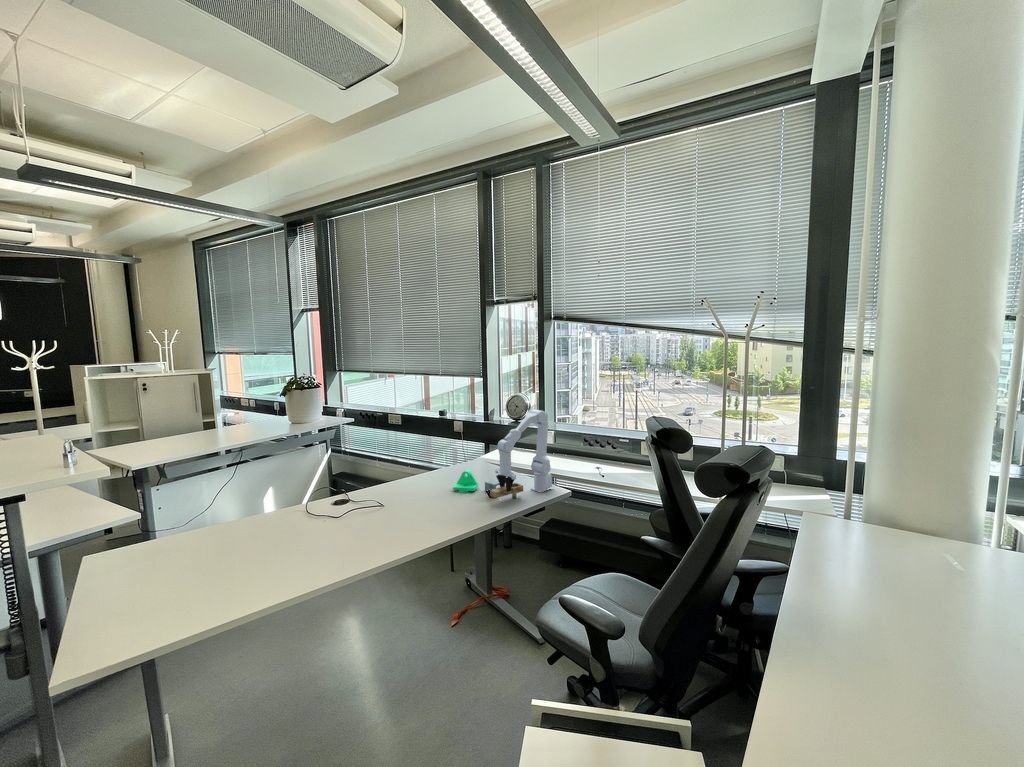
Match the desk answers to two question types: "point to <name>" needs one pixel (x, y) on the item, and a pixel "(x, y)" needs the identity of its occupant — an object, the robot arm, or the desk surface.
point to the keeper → (491, 484)
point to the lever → (502, 490)
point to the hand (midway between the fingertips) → (505, 489)
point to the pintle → (514, 496)
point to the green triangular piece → (466, 482)
